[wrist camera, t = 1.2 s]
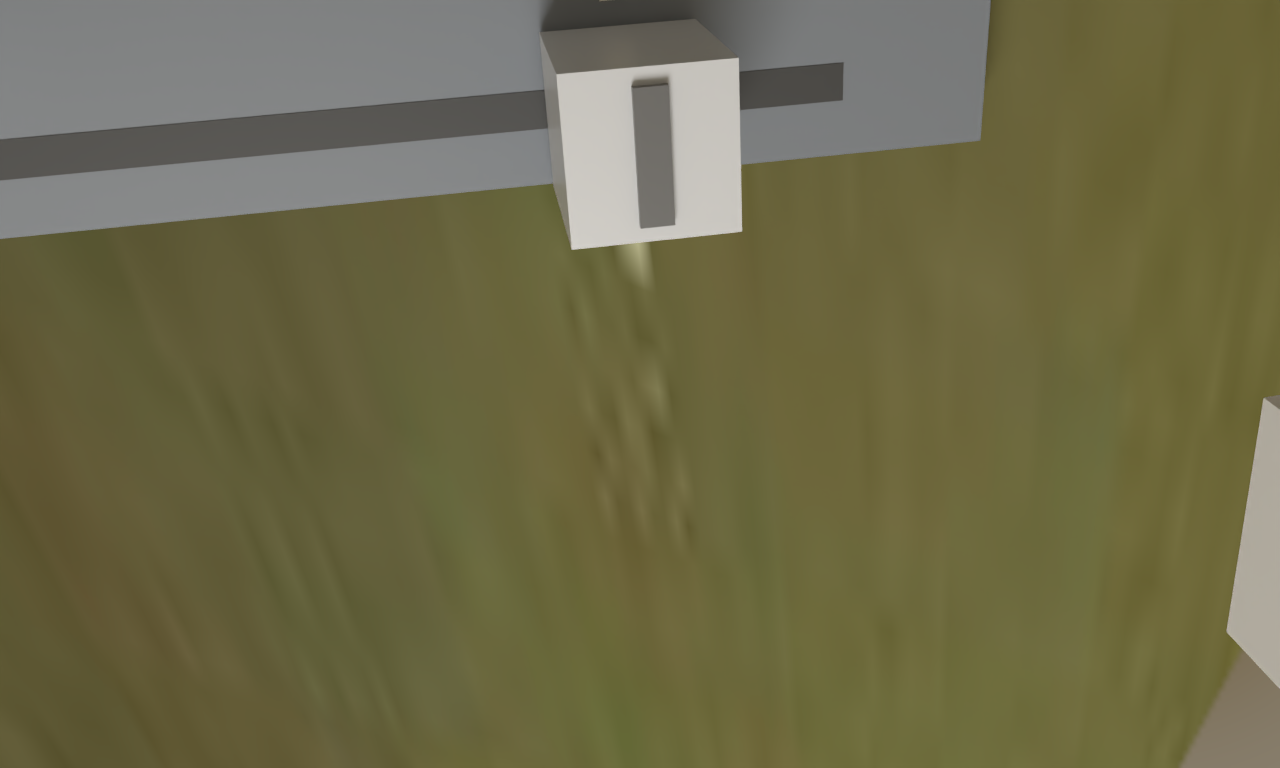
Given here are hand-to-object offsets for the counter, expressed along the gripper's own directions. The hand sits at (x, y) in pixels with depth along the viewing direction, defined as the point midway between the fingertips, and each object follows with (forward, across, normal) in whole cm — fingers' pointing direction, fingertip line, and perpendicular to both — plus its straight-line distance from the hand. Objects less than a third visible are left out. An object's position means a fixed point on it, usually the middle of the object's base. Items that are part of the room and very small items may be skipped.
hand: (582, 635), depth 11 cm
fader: (+22, +3, -1) cm, 22 cm away
